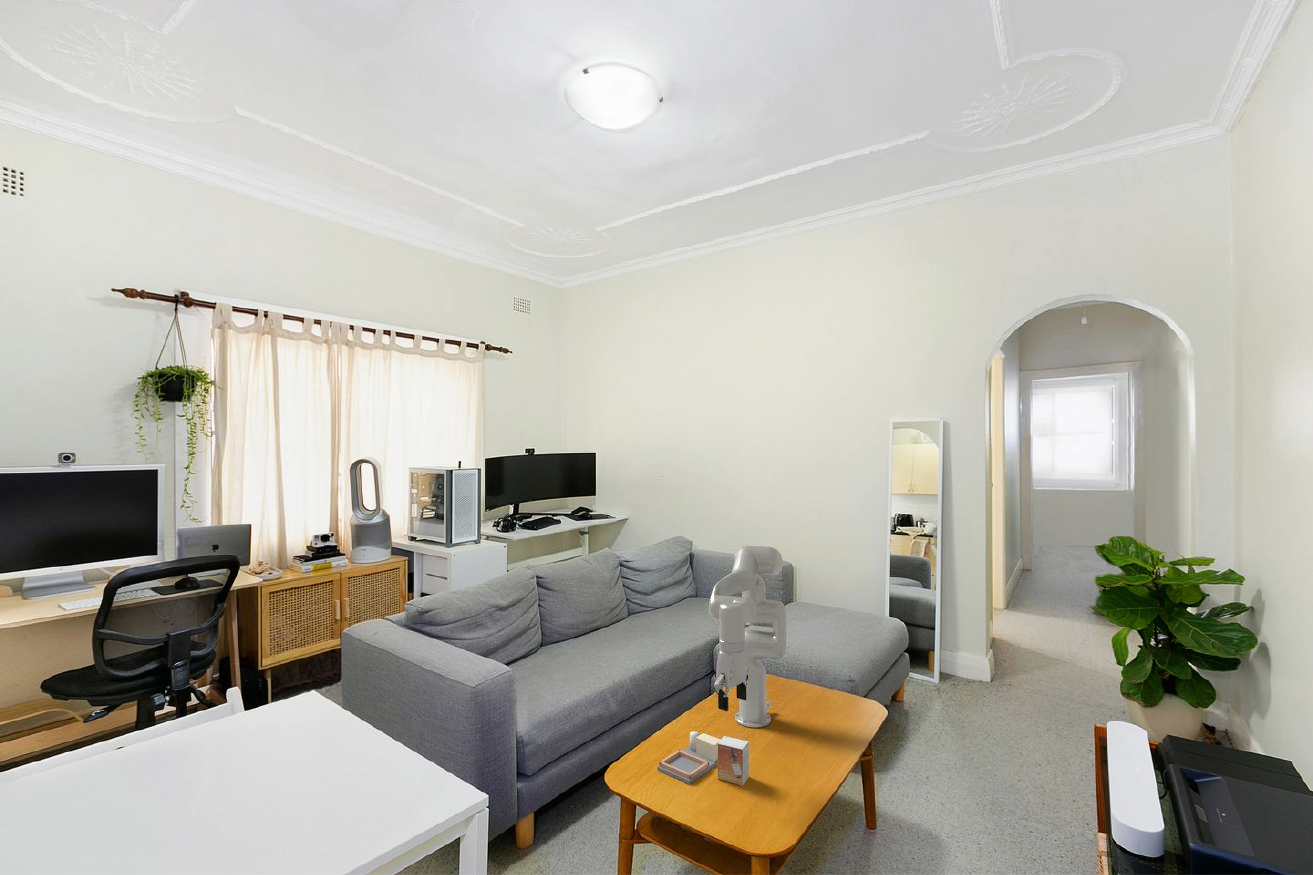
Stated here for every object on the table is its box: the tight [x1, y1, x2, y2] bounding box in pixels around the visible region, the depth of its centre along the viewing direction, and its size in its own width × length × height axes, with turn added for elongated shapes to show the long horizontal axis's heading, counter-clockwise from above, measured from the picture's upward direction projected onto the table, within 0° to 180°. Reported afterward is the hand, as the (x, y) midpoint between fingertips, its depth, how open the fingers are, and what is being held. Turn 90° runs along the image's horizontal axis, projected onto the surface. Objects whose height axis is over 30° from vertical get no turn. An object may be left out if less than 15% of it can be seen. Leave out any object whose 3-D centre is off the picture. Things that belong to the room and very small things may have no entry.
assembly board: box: [657, 730, 721, 785], centre depth 181 cm, size 18×12×6 cm, turn 140°
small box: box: [716, 735, 750, 787], centre depth 174 cm, size 8×6×10 cm
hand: (732, 704), depth 174 cm, fingers open, 9 cm apart
